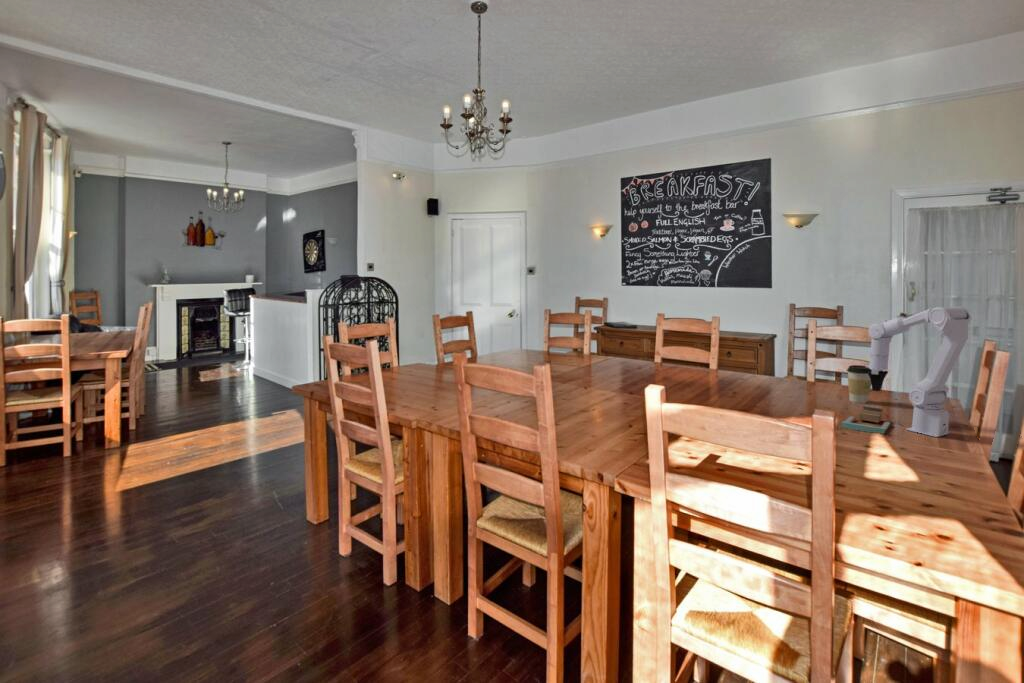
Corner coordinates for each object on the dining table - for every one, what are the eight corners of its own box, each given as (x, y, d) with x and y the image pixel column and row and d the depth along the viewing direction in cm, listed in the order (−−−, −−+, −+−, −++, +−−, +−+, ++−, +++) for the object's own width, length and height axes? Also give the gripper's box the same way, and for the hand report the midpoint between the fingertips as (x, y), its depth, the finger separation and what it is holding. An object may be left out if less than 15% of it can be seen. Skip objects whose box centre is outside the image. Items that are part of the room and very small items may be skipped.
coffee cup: (877, 404, 221) (880, 369, 220) (853, 404, 222) (856, 369, 220) (862, 398, 231) (865, 364, 229) (839, 398, 231) (842, 365, 229)
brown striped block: (862, 417, 202) (863, 406, 201) (881, 420, 198) (882, 408, 197) (859, 421, 197) (860, 409, 196) (878, 424, 193) (879, 412, 192)
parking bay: (849, 419, 200) (850, 414, 200) (889, 425, 191) (890, 420, 191) (841, 427, 189) (841, 422, 189) (883, 434, 181) (883, 429, 181)
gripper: (870, 351, 208) (867, 385, 210) (863, 356, 197) (860, 391, 199) (892, 353, 203) (889, 388, 205) (886, 358, 192) (882, 394, 194)
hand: (876, 390), depth 202 cm, fingers closed
